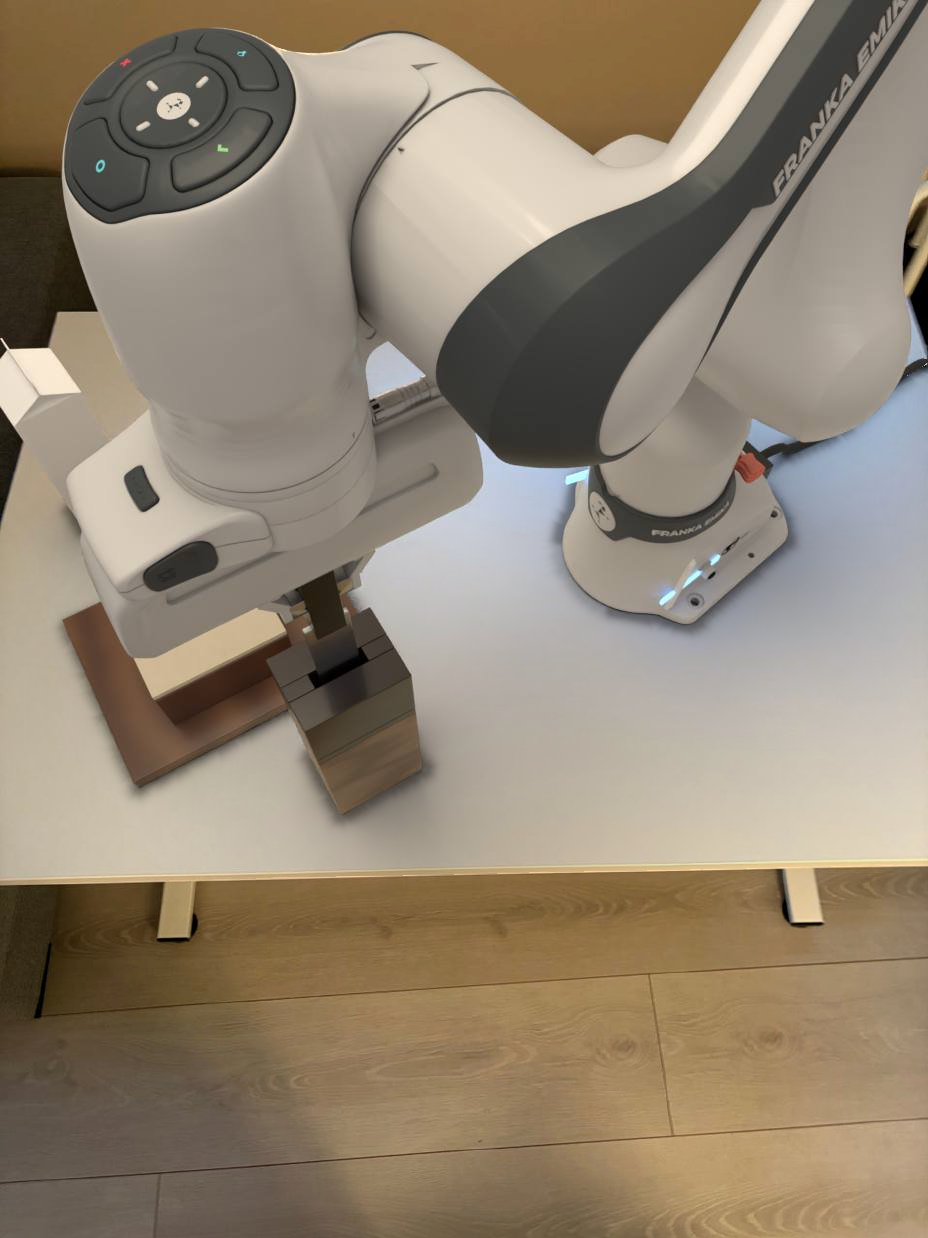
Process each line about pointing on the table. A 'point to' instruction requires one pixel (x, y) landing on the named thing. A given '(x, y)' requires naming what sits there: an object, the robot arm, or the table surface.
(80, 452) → the milk
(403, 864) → the table surface
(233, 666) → the cake
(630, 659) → the table surface
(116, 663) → the board
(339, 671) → the knife
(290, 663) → the knife block
